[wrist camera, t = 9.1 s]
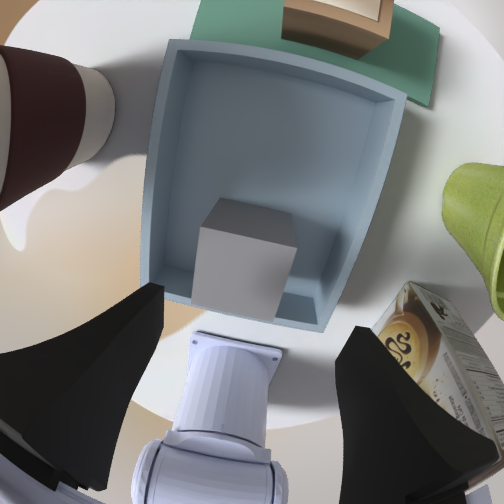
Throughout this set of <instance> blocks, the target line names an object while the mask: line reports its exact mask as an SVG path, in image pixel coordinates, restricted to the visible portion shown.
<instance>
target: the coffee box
mask: <svg viewBox="0 0 504 504" xmlns="http://www.w3.org/2000/svg"><path fill="white" fill-rule="evenodd" d="M372 331H373V332H374V334H375V335H376V336H377V337H378V338H379V339H380V341H381V342H382V343H383V344H384V345H385V347H386V348H387V349H388V350H389V351H390V353H391V354H392V355H393V356H394V358H395V359H396V360H397V361H398V362H399V364H400V365H401V366H402V367H403V368H404V370H405V371H406V372H407V373H408V374H409V375H410V376H411V378H412V379H413V380H414V381H415V382H416V383H417V384H418V385H419V386H420V387H421V388H422V389H423V390H424V392H425V393H427V394H428V395H429V396H430V397H431V398H432V399H433V400H434V401H435V402H436V403H437V404H438V405H439V406H441V407H442V408H443V409H444V410H445V411H447V412H448V413H449V414H450V415H452V416H453V417H454V418H456V419H457V420H459V421H460V422H461V423H463V424H464V425H466V426H467V427H469V428H471V429H472V430H474V431H476V432H477V433H479V434H481V435H483V436H485V437H487V438H489V439H491V440H493V441H494V442H495V445H496V447H497V450H498V453H499V456H500V457H499V460H498V461H497V462H496V463H495V464H493V465H492V466H491V467H489V468H488V469H487V470H485V471H484V472H482V473H481V474H479V475H478V476H476V477H474V478H473V479H471V480H470V481H468V484H469V488H468V489H467V490H465V491H464V492H466V491H468V490H470V489H472V488H473V487H475V486H477V485H478V484H480V483H482V482H483V481H485V480H486V479H488V478H489V477H491V476H493V475H494V474H496V473H497V472H498V471H500V470H501V469H502V468H504V384H503V382H502V381H501V378H500V377H499V375H498V374H497V371H496V370H495V368H494V367H493V365H492V363H491V362H490V360H489V358H488V357H487V355H486V353H485V352H484V350H483V349H482V347H481V345H480V344H479V342H478V341H477V339H476V338H475V337H474V335H473V334H472V332H471V331H470V329H469V328H468V326H467V325H466V323H465V322H464V321H463V319H462V318H461V316H460V315H459V314H458V312H457V311H456V309H455V308H454V307H453V305H452V304H451V303H450V302H449V301H447V300H445V299H444V298H442V297H440V296H438V295H436V294H434V293H432V292H430V291H428V290H426V289H424V288H422V287H420V286H418V285H416V284H414V283H412V282H407V283H406V284H405V285H404V287H403V288H402V290H401V291H400V293H399V294H398V295H397V297H396V298H395V300H394V301H393V302H392V304H391V305H390V307H389V308H388V309H387V311H386V312H385V313H384V315H383V316H382V317H381V319H380V320H379V321H378V323H377V324H376V325H375V327H374V328H373V329H372Z"/></svg>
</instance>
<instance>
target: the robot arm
mask: <svg viewBox="0 0 504 504" xmlns="http://www.w3.org/2000/svg"><path fill="white" fill-rule="evenodd" d="M164 288H165V286H162V285H158V284H155V283H151V282H149V283H147V284H145V285H144V286H142V287H141V288H139V289H138V290H136V291H135V292H133V293H132V294H131V295H129V296H128V297H126V298H125V299H123V300H122V301H120V302H119V303H117V304H116V305H114V306H113V307H111V308H109V309H108V310H107V311H105V312H103V313H101V314H100V315H98V316H96V317H95V318H93V319H91V320H90V321H88V322H86V323H84V324H82V325H81V326H79V327H77V328H75V329H73V330H71V331H68V332H66V333H64V334H62V335H60V336H57V337H55V338H52V339H49V340H47V341H44V342H41V343H39V344H36V345H33V346H30V347H26V348H23V349H19V350H15V351H11V352H6V353H1V354H0V504H105V503H102V502H100V501H98V500H96V499H93V498H91V497H89V496H87V495H85V494H83V493H81V492H79V491H77V489H78V486H79V487H81V488H83V489H85V490H88V488H91V489H93V490H95V491H102V490H105V489H107V482H108V478H109V473H110V468H111V463H112V459H113V455H114V450H115V447H116V443H117V439H118V436H119V432H120V429H121V426H122V423H123V420H124V417H125V414H126V411H127V408H128V405H129V402H130V400H131V398H132V395H133V393H134V391H135V389H136V387H137V385H138V383H139V381H140V379H141V377H142V375H143V373H144V371H145V369H146V367H147V365H148V363H149V361H150V359H151V357H152V355H153V353H154V351H155V349H156V347H157V344H158V341H159V338H160V336H161V333H162V330H163V327H164ZM194 340H196V341H194ZM274 357H276V358H274ZM281 358H282V351H281V350H280V349H276V348H270V347H265V346H259V345H254V344H249V343H244V342H239V341H235V340H230V339H226V338H221V337H217V336H212V335H208V334H204V333H200V332H192V333H191V335H190V343H189V354H188V367H187V380H186V384H185V387H184V390H183V394H182V397H181V400H180V403H179V407H178V410H177V414H176V417H175V420H174V424H173V427H172V430H167V431H166V435H165V438H164V441H163V440H161V439H158V438H156V439H154V440H152V441H151V442H149V443H147V444H146V445H145V446H144V448H143V449H142V451H141V453H140V456H139V458H138V461H137V464H136V467H135V470H134V474H133V479H132V486H131V498H132V500H133V504H287V502H288V479H287V475H286V472H285V470H284V469H283V468H282V467H281V465H280V464H279V462H277V461H271V450H270V449H265V437H266V420H267V401H268V386H269V384H270V382H271V380H272V378H273V375H274V373H275V371H276V369H277V367H278V364H279V362H280V360H281ZM335 379H336V389H337V396H338V403H339V409H340V416H341V422H342V429H343V440H344V441H343V442H344V443H343V444H344V447H343V448H344V450H343V456H344V457H343V476H342V485H341V493H340V500H339V504H492V500H491V496H490V492H489V487H488V485H485V486H483V487H481V488H479V489H477V490H476V491H474V492H471V493H470V494H468V495H466V496H465V492H464V491H465V490H467V489H468V488H469V484H468V481H470V480H471V479H473V478H474V477H476V476H478V475H479V474H481V473H482V472H484V471H485V470H487V469H488V468H489V467H491V466H492V465H493V464H495V463H496V462H497V461H498V460H499V457H500V456H499V453H498V450H497V447H496V445H495V442H494V441H493V440H491V439H489V438H487V437H485V436H483V435H481V434H479V433H477V432H476V431H474V430H472V429H471V428H469V427H467V426H466V425H464V424H463V423H461V422H460V421H459V420H457V419H456V418H454V417H453V416H452V415H450V414H449V413H448V412H447V411H445V410H444V409H443V408H442V407H441V406H439V405H438V404H437V403H436V402H435V401H434V400H433V399H432V398H431V397H430V396H429V395H428V394H427V393H425V392H424V390H423V389H422V388H421V387H420V386H419V385H418V384H417V383H416V382H415V381H414V380H413V379H412V378H411V376H410V375H409V374H408V373H407V372H406V371H405V370H404V368H403V367H402V366H401V365H400V364H399V362H398V361H397V360H396V359H395V358H394V356H393V355H392V354H391V353H390V351H389V350H388V349H387V348H386V347H385V345H384V344H383V343H382V342H381V341H380V339H379V338H378V337H377V336H376V335H375V334H374V332H373V331H372V330H371V329H370V328H367V327H360V326H355V328H354V330H353V331H352V333H351V335H350V337H349V338H348V340H347V342H346V344H345V345H344V347H343V349H342V351H341V352H340V354H339V356H338V357H337V359H336V360H335Z"/></svg>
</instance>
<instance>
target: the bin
mask: <svg viewBox="0 0 504 504" xmlns="http://www.w3.org/2000/svg"><path fill="white" fill-rule="evenodd" d="M406 99H407V94H406V93H404V92H402V91H400V90H397V89H395V88H393V87H391V86H388V85H386V84H384V83H381V82H379V81H376V80H374V79H371V78H369V77H366V76H364V75H361V74H358V73H356V72H353V71H350V70H347V69H344V68H341V67H338V66H335V65H332V64H328V63H325V62H322V61H318V60H315V59H311V58H307V57H303V56H299V55H295V54H291V53H287V52H282V51H277V50H272V49H267V48H261V47H255V46H249V45H242V44H234V43H226V42H216V41H203V40H182V39H169V42H168V46H167V50H166V54H165V58H164V62H163V66H162V71H161V75H160V80H159V85H158V90H157V95H156V100H155V105H154V111H153V117H152V123H151V130H150V137H149V144H148V152H147V160H146V169H145V179H144V191H143V204H142V222H141V251H140V252H141V253H140V255H141V256H140V285H141V287H142V286H144V285H145V284H147V283H149V282H151V283H155V284H158V285H162V286H165V288H164V299H166V300H169V301H173V302H177V303H181V304H185V305H189V306H193V307H197V308H201V309H205V310H209V311H213V312H218V313H222V314H226V315H231V316H235V317H240V318H245V319H249V320H254V321H259V322H264V323H269V324H274V325H280V326H285V327H290V328H296V329H302V330H307V331H313V332H319V333H323V332H324V330H325V328H326V326H327V324H328V322H329V320H330V318H331V315H332V313H333V311H334V309H335V307H336V305H337V303H338V300H339V298H340V296H341V294H342V292H343V289H344V287H345V285H346V283H347V280H348V278H349V276H350V273H351V271H352V268H353V266H354V264H355V261H356V259H357V256H358V254H359V251H360V249H361V246H362V244H363V241H364V239H365V236H366V233H367V231H368V228H369V225H370V222H371V220H372V217H373V214H374V211H375V208H376V206H377V203H378V200H379V197H380V194H381V191H382V188H383V184H384V181H385V178H386V175H387V172H388V168H389V165H390V162H391V158H392V155H393V151H394V148H395V144H396V140H397V136H398V133H399V129H400V125H401V121H402V116H403V112H404V108H405V103H406ZM219 198H225V199H230V200H235V201H239V202H244V203H248V204H253V205H257V206H262V207H266V208H270V209H275V210H279V211H283V212H287V213H291V214H292V220H293V226H294V231H295V237H296V243H297V251H296V254H295V257H294V260H293V264H292V267H291V270H290V273H289V276H288V279H287V282H286V285H285V288H284V291H283V294H282V297H281V300H280V303H279V306H278V309H277V312H276V315H275V318H274V321H273V322H270V321H265V320H260V319H255V318H251V317H246V316H241V315H236V314H232V313H227V312H223V311H219V310H214V309H210V308H206V307H202V306H198V305H194V304H191V297H192V288H193V279H194V271H195V263H196V255H197V247H198V240H199V233H200V226H201V225H202V223H203V222H204V220H205V219H206V217H207V216H208V214H209V213H210V212H211V210H212V209H213V207H214V206H215V204H216V203H217V201H218V200H219Z"/></svg>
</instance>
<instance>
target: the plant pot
mask: <svg viewBox="0 0 504 504" xmlns="http://www.w3.org/2000/svg"><path fill="white" fill-rule="evenodd" d="M442 218H443V222H444V224H445V227H446V229H447V230H448V231H449V233H450V234H451V235H452V236H453V238H454V239H455V240H456V241H457V242H458V244H459V245H460V246H461V247H462V249H463V250H464V251H465V252H466V254H467V255H468V256H469V258H470V259H471V260H472V262H473V263H474V265H475V266H476V268H477V269H478V270H479V272H480V273H481V275H482V277H483V278H484V281H485V285H486V288H487V290H488V291H489V295H490V302H491V305H492V308H493V310H494V312H495V313H496V315H497V316H498V317H499V318H500V319H501V320H503V321H504V166H497V165H489V164H482V163H467V164H464V165H462V166H460V167H458V168H457V169H456V170H455V171H454V172H453V173H452V175H451V176H450V177H449V179H448V181H447V183H446V185H445V188H444V191H443V210H442Z"/></svg>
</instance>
